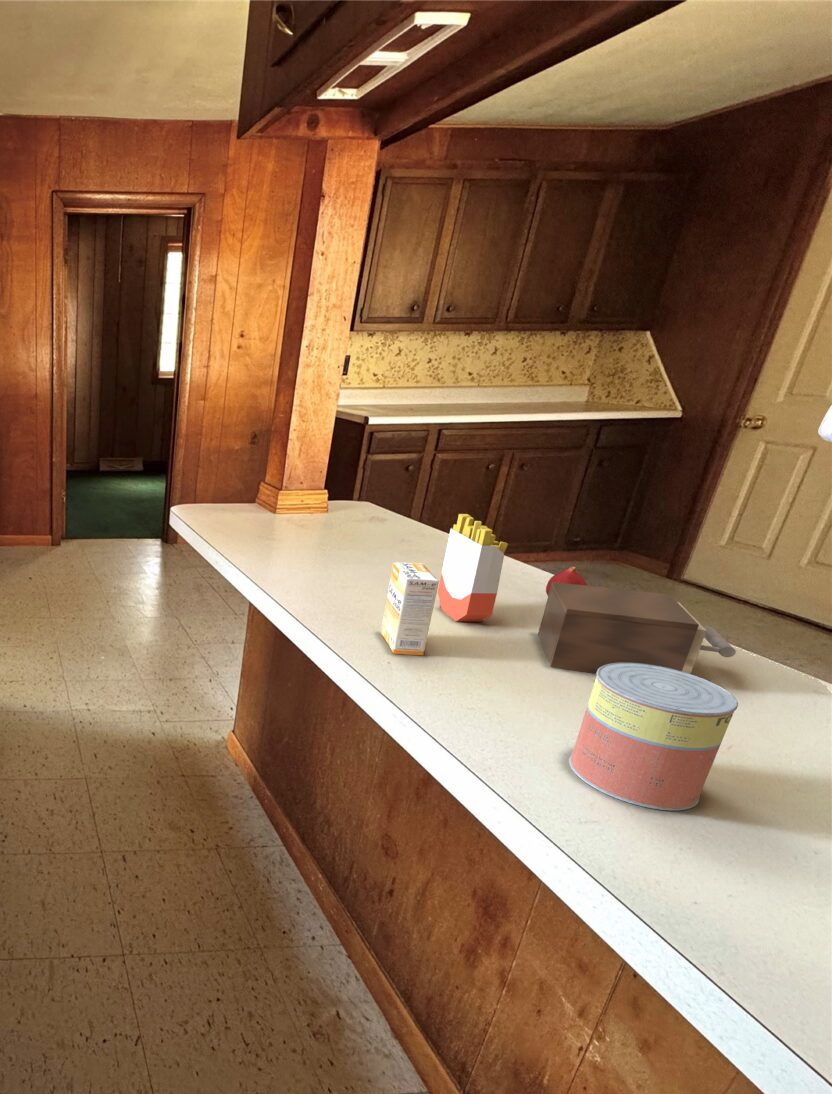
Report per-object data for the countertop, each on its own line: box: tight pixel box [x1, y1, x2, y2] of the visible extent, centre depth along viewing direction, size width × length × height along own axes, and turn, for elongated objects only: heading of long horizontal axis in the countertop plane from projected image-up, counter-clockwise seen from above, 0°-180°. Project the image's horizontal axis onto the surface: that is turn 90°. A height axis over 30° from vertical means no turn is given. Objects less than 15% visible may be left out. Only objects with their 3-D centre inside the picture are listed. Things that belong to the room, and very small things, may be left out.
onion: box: [545, 566, 588, 597], centre depth 120 cm, size 6×6×8 cm
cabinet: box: [537, 582, 699, 675], centre depth 101 cm, size 15×13×10 cm
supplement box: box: [380, 561, 440, 656], centre depth 107 cm, size 8×5×13 cm, turn 167°
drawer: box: [676, 601, 737, 674], centre depth 99 cm, size 18×11×8 cm, turn 62°
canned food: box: [568, 663, 739, 812], centre depth 73 cm, size 11×11×12 cm
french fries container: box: [437, 513, 509, 623], centre depth 116 cm, size 5×11×18 cm, turn 174°
